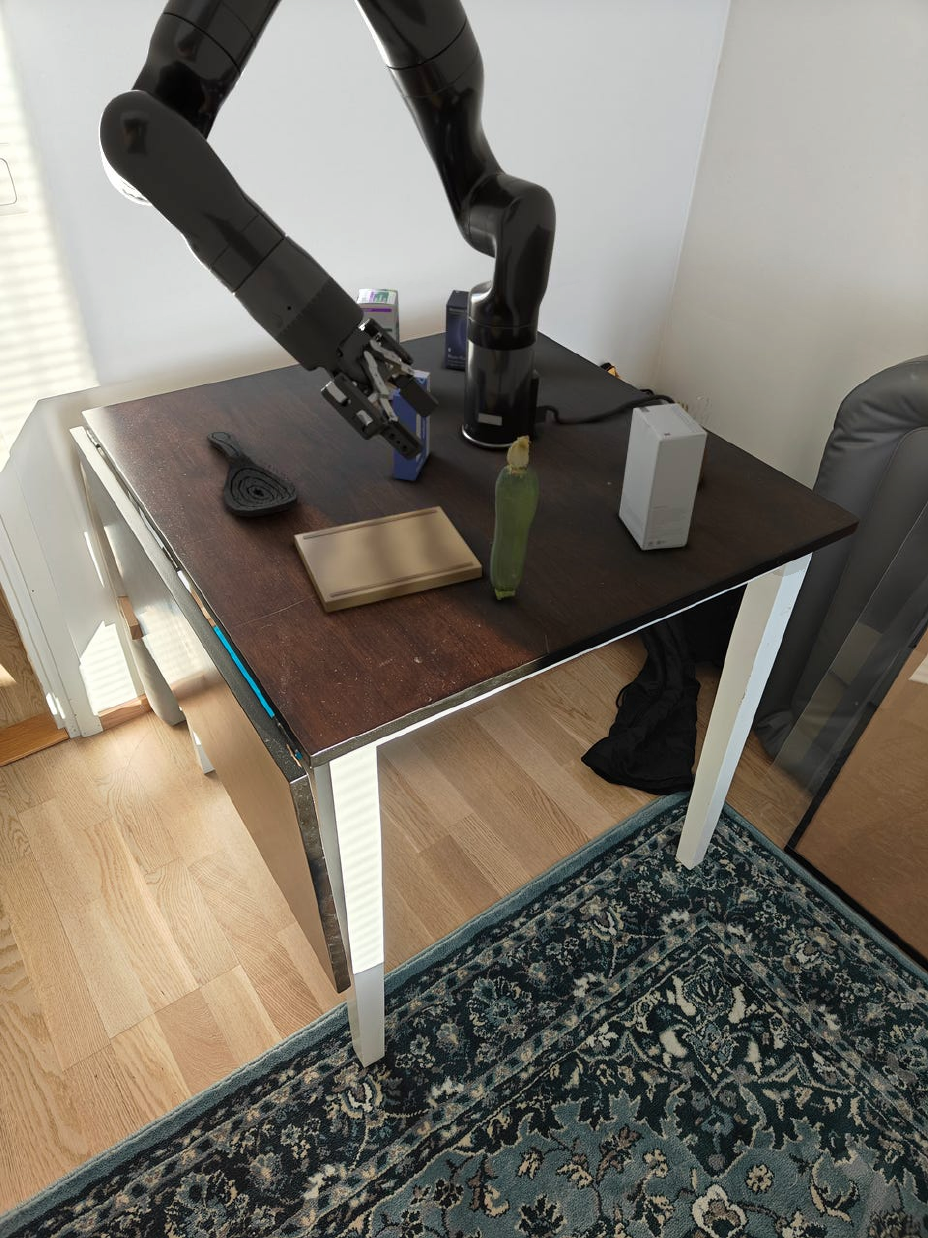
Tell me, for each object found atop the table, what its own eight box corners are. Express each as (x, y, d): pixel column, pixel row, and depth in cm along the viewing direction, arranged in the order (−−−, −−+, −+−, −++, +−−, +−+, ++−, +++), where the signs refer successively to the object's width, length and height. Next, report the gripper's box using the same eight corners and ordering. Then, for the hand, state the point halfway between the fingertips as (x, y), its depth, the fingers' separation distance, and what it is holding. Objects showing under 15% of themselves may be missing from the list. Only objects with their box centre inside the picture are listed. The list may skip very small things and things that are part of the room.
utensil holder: (709, 478, 116) (730, 394, 108) (683, 496, 112) (703, 411, 104) (671, 461, 119) (689, 379, 111) (645, 478, 115) (662, 394, 107)
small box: (442, 369, 138) (443, 303, 132) (450, 352, 143) (451, 288, 136) (508, 376, 137) (513, 310, 130) (513, 359, 142) (518, 294, 135)
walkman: (414, 481, 113) (414, 395, 105) (394, 478, 113) (392, 392, 105) (430, 452, 118) (431, 368, 111) (410, 449, 119) (410, 365, 111)
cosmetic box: (686, 547, 104) (713, 435, 94) (638, 552, 102) (661, 439, 93) (658, 508, 110) (682, 399, 100) (614, 513, 109) (632, 403, 99)
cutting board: (439, 516, 107) (439, 505, 106) (481, 577, 98) (482, 565, 97) (295, 545, 101) (294, 534, 100) (326, 613, 92) (325, 601, 91)
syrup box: (398, 400, 130) (397, 303, 120) (359, 398, 130) (354, 301, 120) (401, 383, 134) (400, 288, 125) (362, 381, 134) (358, 287, 125)
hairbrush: (241, 410, 120) (309, 490, 103) (245, 435, 122) (312, 517, 105) (181, 423, 116) (241, 508, 99) (186, 448, 119) (246, 535, 102)
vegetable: (486, 582, 97) (497, 419, 84) (524, 581, 97) (541, 418, 84) (490, 607, 94) (502, 441, 81) (530, 606, 94) (548, 441, 81)
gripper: (304, 306, 70) (442, 446, 77) (345, 250, 81) (463, 376, 88) (248, 363, 74) (384, 491, 81) (294, 302, 85) (411, 419, 91)
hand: (425, 431), depth 84 cm, fingers open, 8 cm apart
